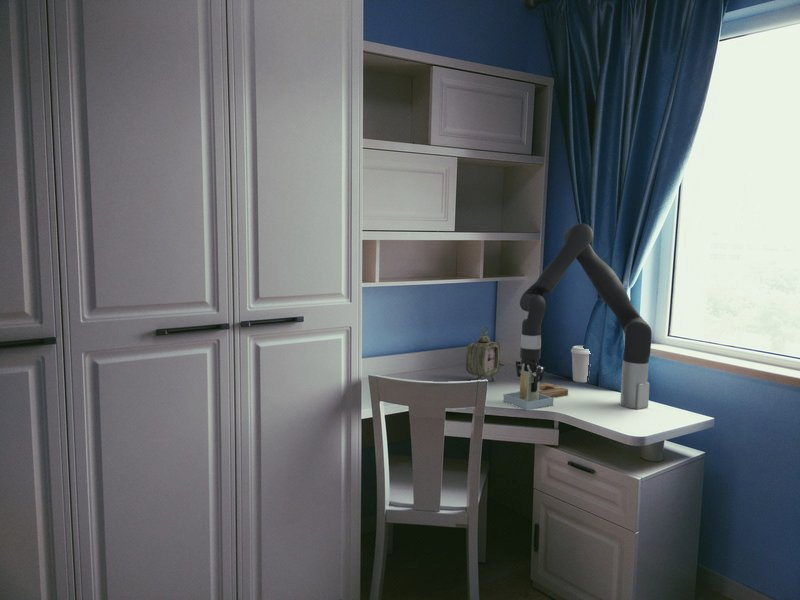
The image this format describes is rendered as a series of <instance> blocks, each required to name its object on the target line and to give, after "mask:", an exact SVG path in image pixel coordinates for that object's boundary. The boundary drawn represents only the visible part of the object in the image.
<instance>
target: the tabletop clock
mask: <svg viewBox="0 0 800 600" xmlns="http://www.w3.org/2000/svg"><path fill="white" fill-rule="evenodd" d="M483 328H487V330H486V331H483V332H482V329H483ZM488 333H489V326H488V325H487V324H484V325H482V326H481V327H480V329H479V334H480V336H479V337H478V338H477V341H476V340H475V341H473V342H471V343H469V344H468V345H467V347H466V353H465V370H466V372H467V373H468V374H470V375H473V376H477V377H476V379H475V381H476V380H478V379H481V380H482V377H485V378H488V377H491V381H492V380H495V381H496V377H495V376H494V375H496V374H497V373H498V372H499V369H500V364H501V344H500V343H499V342H497V341H491V340H490V337H489V336H488Z"/></svg>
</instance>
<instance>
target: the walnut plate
mask: <svg viewBox="0 0 800 600" xmlns="http://www.w3.org/2000/svg"><path fill="white" fill-rule="evenodd" d="M539 393H540V394H543V395H545V396H548V397H551V398H553V399H554V397H555V398H560V397H567V396H569V389H568V388H565V387H562V386H559V385H555V384H552V383H549V382H545V383H544V382H543V383H539Z"/></svg>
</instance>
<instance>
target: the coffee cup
mask: <svg viewBox="0 0 800 600" xmlns="http://www.w3.org/2000/svg"><path fill="white" fill-rule="evenodd" d="M583 346H584V345H574V346H572V347H571V349H570V352H571V360H572V364H571V365H572V380H573V381H574V382H575V383H587V376H588V365H589V354H591V353H590V351H589V349H584V348H583Z"/></svg>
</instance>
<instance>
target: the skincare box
mask: <svg viewBox="0 0 800 600" xmlns="http://www.w3.org/2000/svg"><path fill="white" fill-rule="evenodd" d="M520 373H521V379H519V380H520V382H519V383H520V384H519V385H520V386H519V392H520V399H521V400H523V401H526V402H530V401H536V400H539V384H541V382H538V383H537V391H536V392H531V383H532V381H531V376H530V373H529V372H528V371H520ZM532 374H536V372H534V373H532ZM534 379H535V376H534Z"/></svg>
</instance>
